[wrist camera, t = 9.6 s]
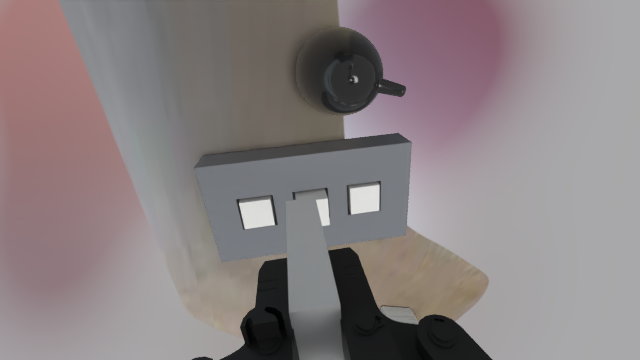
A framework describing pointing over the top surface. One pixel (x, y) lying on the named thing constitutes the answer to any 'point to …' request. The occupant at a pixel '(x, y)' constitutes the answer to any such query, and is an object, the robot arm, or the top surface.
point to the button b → (321, 202)
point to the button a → (257, 211)
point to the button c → (363, 197)
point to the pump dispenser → (341, 72)
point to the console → (306, 174)
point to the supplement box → (399, 314)
